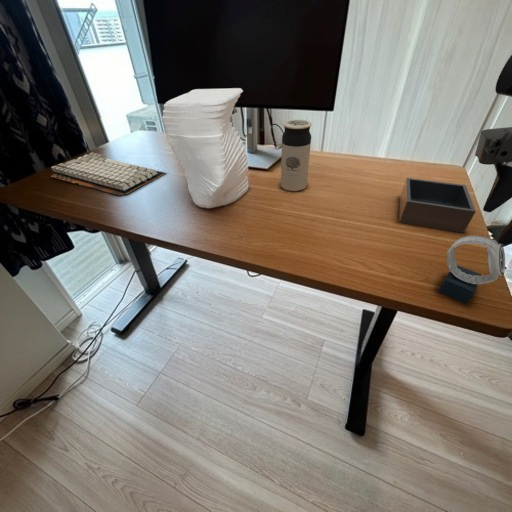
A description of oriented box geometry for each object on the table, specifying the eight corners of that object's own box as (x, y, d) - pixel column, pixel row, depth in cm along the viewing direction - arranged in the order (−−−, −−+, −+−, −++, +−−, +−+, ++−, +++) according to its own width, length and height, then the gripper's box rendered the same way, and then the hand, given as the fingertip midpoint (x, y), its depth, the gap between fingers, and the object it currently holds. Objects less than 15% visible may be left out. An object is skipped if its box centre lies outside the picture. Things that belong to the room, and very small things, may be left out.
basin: (455, 205, 71) (465, 185, 68) (463, 233, 62) (476, 211, 58) (399, 197, 76) (406, 177, 72) (399, 222, 66) (407, 201, 62)
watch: (479, 310, 45) (518, 261, 38) (427, 287, 50) (454, 239, 42) (485, 291, 48) (522, 242, 41) (436, 271, 53) (462, 224, 46)
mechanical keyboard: (166, 173, 94) (163, 164, 91) (123, 198, 81) (119, 187, 79) (93, 159, 107) (90, 150, 105) (47, 178, 95) (42, 168, 93)
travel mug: (287, 178, 87) (290, 118, 76) (310, 183, 84) (317, 121, 72) (276, 188, 82) (277, 125, 71) (299, 194, 79) (304, 128, 67)
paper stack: (259, 180, 87) (257, 88, 70) (226, 225, 67) (211, 112, 51) (201, 174, 92) (186, 86, 76) (155, 213, 73) (121, 108, 57)
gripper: (494, 85, 38) (432, 184, 49) (543, 114, 25) (442, 242, 35) (586, 103, 36) (499, 203, 46) (693, 146, 23) (537, 272, 33)
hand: (492, 225), depth 40 cm, fingers open, 9 cm apart
